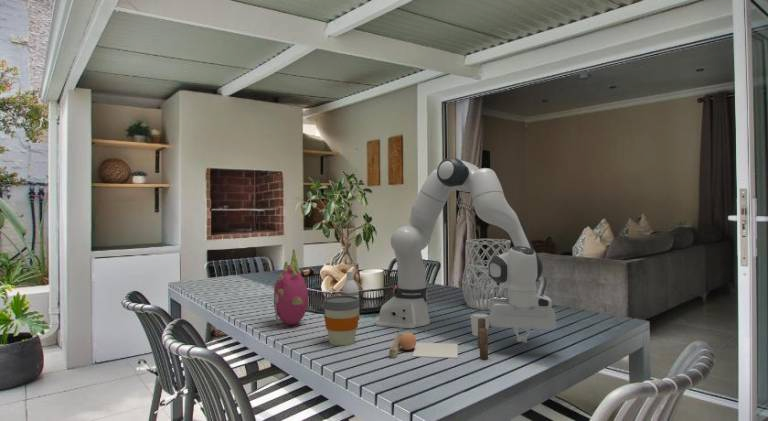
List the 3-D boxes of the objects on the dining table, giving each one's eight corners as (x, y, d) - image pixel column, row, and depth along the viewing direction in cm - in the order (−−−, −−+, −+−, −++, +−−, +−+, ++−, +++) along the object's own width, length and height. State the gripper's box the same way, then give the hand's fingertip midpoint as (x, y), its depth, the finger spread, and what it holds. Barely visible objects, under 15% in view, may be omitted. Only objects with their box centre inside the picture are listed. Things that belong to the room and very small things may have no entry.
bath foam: (340, 318, 199) (339, 270, 198) (355, 316, 202) (355, 269, 201) (345, 321, 192) (344, 272, 192) (361, 320, 195) (360, 271, 195)
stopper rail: (389, 357, 148) (389, 349, 148) (397, 340, 166) (396, 333, 166) (395, 358, 148) (395, 350, 148) (402, 340, 165) (402, 333, 165)
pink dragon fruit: (268, 321, 194) (267, 248, 194) (300, 317, 201) (299, 246, 200) (280, 332, 179) (278, 252, 178) (314, 327, 185) (313, 250, 184)
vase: (452, 303, 224) (451, 239, 224) (493, 297, 235) (492, 237, 234) (483, 313, 202) (482, 243, 202) (527, 307, 213) (526, 240, 212)
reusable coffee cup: (341, 334, 175) (341, 293, 174) (367, 340, 167) (366, 298, 166) (316, 342, 165) (315, 299, 165) (342, 349, 157) (341, 304, 157)
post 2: (479, 359, 145) (479, 330, 145) (479, 356, 148) (479, 328, 147) (488, 359, 145) (487, 330, 144) (487, 357, 147) (487, 328, 147)
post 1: (478, 346, 157) (478, 320, 157) (477, 344, 160) (477, 318, 160) (485, 347, 157) (485, 320, 157) (485, 344, 160) (485, 318, 159)
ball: (414, 353, 153) (397, 350, 154) (415, 347, 158) (399, 345, 159) (416, 337, 152) (399, 334, 153) (417, 331, 158) (401, 329, 159)
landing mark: (412, 356, 149) (412, 355, 149) (416, 343, 163) (416, 342, 163) (457, 358, 147) (457, 357, 147) (457, 344, 160) (457, 343, 160)
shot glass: (478, 338, 167) (478, 318, 167) (466, 333, 174) (466, 314, 173) (493, 335, 171) (493, 316, 170) (481, 330, 177) (481, 312, 177)
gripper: (489, 299, 148) (488, 342, 149) (557, 301, 145) (556, 346, 145) (488, 295, 155) (487, 336, 155) (553, 297, 151) (553, 340, 152)
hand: (521, 341), depth 150 cm, fingers closed
